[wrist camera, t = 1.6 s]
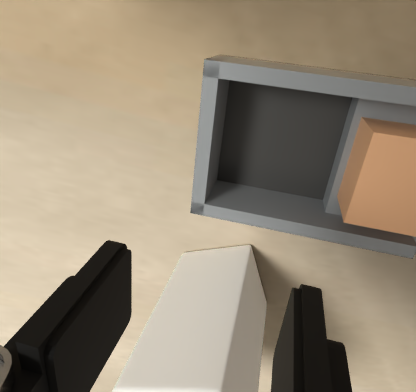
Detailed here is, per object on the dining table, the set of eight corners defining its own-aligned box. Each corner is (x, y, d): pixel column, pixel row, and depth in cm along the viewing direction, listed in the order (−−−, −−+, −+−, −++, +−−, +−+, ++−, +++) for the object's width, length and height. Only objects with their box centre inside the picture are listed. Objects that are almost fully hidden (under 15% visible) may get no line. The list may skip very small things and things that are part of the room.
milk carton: (267, 302, 34) (241, 556, 18) (202, 306, 37) (124, 535, 20) (251, 243, 32) (204, 474, 15) (182, 251, 34) (74, 461, 17)
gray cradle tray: (219, 54, 25) (204, 59, 21) (641, 109, 21) (731, 129, 17) (205, 186, 30) (190, 213, 26) (544, 252, 26) (594, 296, 22)
